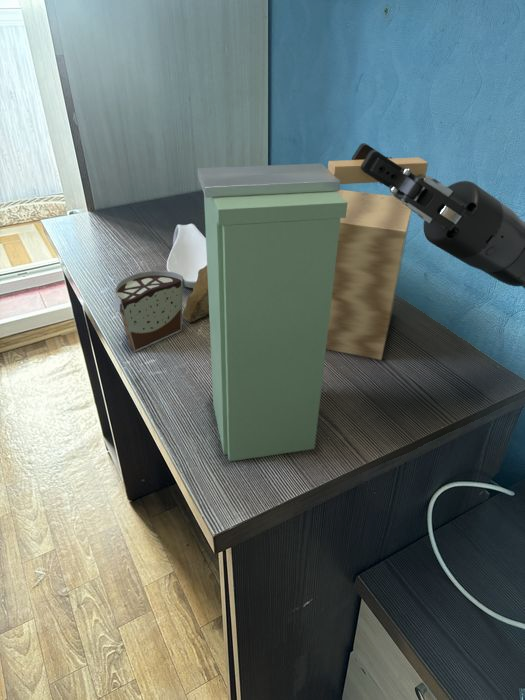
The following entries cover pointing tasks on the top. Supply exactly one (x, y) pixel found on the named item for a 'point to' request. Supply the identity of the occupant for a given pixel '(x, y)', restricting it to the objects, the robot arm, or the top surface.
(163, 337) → the mint chocolate cake slice
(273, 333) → the tall green cabinet
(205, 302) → the rock
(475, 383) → the top surface
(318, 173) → the knife
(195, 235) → the spoon rest
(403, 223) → the block
